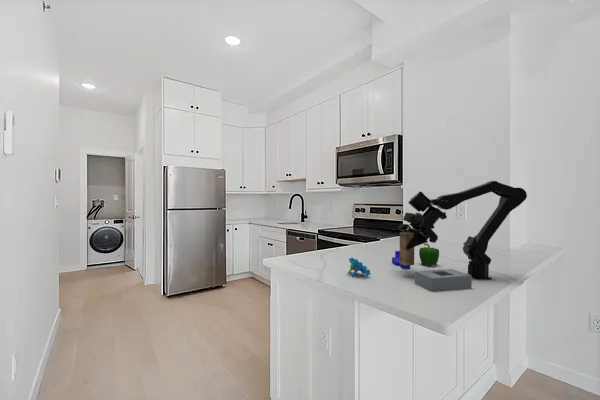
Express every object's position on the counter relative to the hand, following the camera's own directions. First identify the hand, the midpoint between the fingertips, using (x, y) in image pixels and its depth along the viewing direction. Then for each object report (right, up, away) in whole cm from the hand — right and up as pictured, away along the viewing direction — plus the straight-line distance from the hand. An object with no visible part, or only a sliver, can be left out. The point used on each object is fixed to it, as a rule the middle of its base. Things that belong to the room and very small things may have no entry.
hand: (403, 247), depth 118 cm
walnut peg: (+1, -7, 0) cm, 7 cm away
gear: (-18, -12, +2) cm, 21 cm away
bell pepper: (+19, -12, +21) cm, 30 cm away
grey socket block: (+10, -12, -12) cm, 19 cm away
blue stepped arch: (+5, -12, +19) cm, 23 cm away
